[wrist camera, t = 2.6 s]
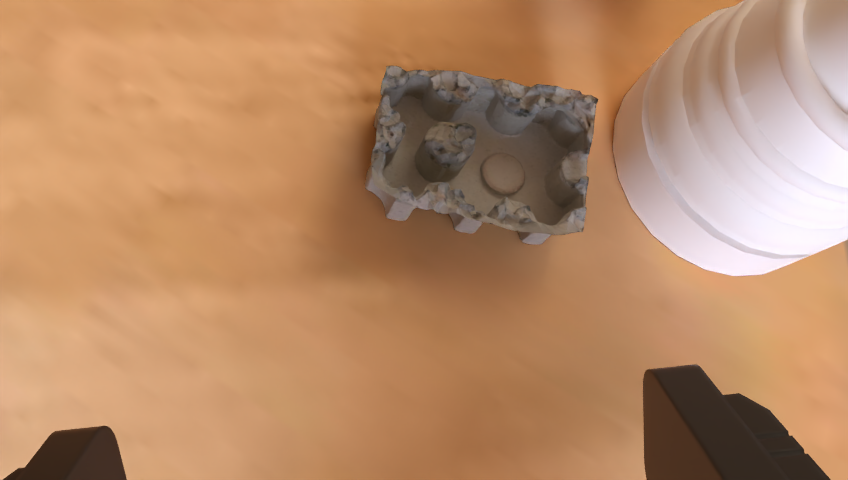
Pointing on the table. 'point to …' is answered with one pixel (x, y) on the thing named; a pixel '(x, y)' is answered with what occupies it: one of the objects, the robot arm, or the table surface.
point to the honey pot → (743, 137)
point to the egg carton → (482, 152)
